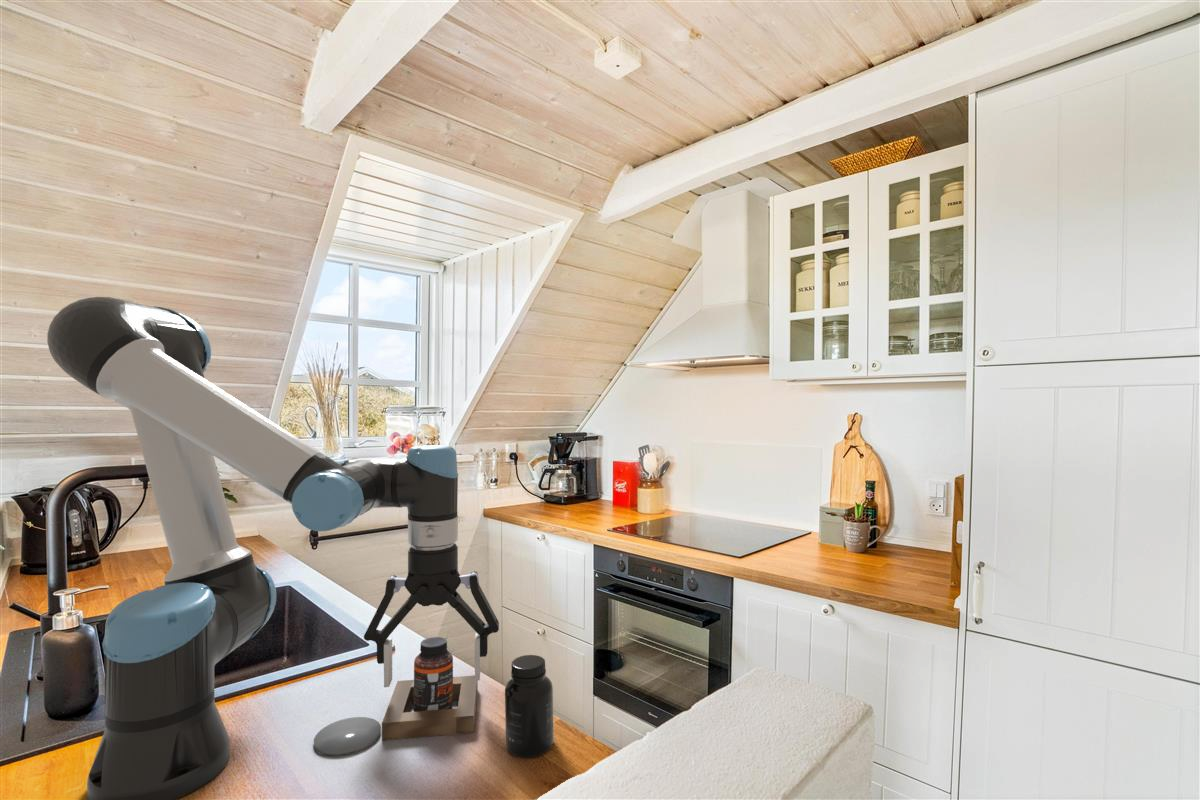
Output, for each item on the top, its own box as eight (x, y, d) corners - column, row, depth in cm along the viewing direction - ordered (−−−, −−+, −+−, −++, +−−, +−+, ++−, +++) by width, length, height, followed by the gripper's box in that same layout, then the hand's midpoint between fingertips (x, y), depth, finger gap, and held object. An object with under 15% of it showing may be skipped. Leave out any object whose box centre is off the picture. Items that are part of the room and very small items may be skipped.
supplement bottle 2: (533, 726, 91) (533, 647, 91) (563, 745, 86) (563, 661, 86) (495, 745, 86) (495, 661, 86) (524, 766, 81) (524, 677, 81)
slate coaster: (305, 758, 83) (305, 754, 83) (324, 723, 91) (324, 719, 91) (373, 752, 84) (373, 748, 84) (386, 718, 93) (386, 714, 93)
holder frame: (381, 740, 87) (381, 723, 87) (397, 695, 100) (397, 680, 100) (473, 732, 89) (473, 715, 89) (477, 689, 102) (477, 675, 102)
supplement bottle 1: (442, 725, 91) (442, 651, 91) (406, 721, 92) (406, 647, 92) (459, 705, 97) (459, 635, 97) (425, 701, 98) (425, 632, 98)
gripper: (342, 554, 89) (343, 697, 89) (514, 547, 92) (514, 684, 93) (355, 541, 96) (355, 674, 96) (513, 536, 100) (513, 663, 100)
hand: (433, 679), depth 94 cm, fingers open, 13 cm apart
